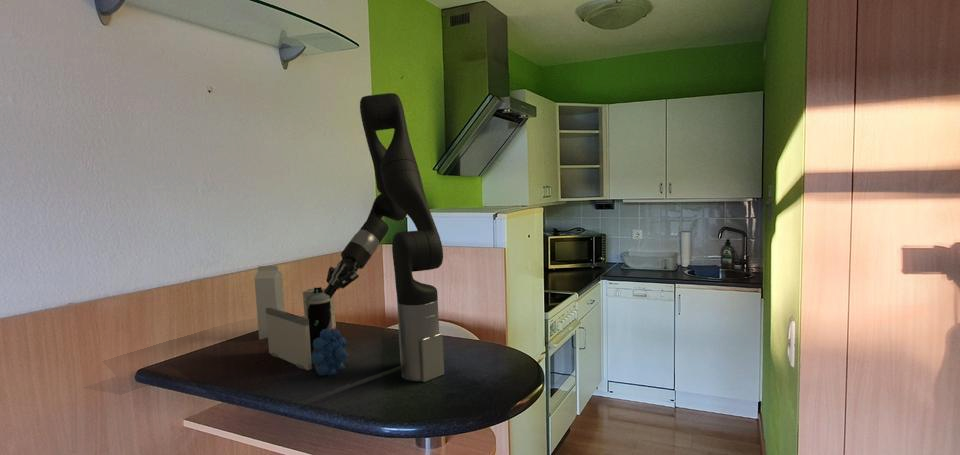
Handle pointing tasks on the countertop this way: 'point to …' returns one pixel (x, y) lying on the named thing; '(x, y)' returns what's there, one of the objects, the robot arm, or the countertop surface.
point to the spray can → (318, 314)
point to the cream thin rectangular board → (289, 337)
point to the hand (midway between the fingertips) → (324, 298)
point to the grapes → (329, 352)
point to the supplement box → (310, 291)
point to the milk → (268, 295)
